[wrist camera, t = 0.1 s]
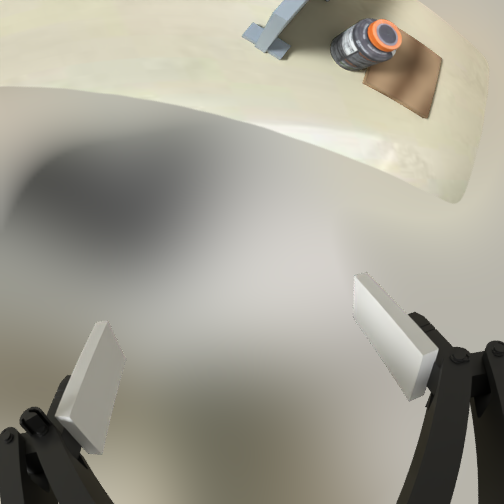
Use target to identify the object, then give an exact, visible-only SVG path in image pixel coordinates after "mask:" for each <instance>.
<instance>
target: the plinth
mask: <svg viewBox="0 0 504 504" xmlns="http://www.w3.org/2000/svg"><path fill="white" fill-rule="evenodd" d="M397 28H398V27H397ZM398 29H399V28H398ZM399 31H400V33H401V36H402V43H401V45H400V47H399V48H397V49H396V52H395V54H394V56H393V57H392V58H391V59H389V60H387V61H384V62H381V63H378V64H375V65H372V66H369V67H367V70H366V73H365V77H364V80H363V84H365V85H367V86H369V87H371V88H373V89H375V90H376V91H378V92H380V93H382V94H384V95H386V96H387V97H389V98H391V99H393V100H394V101H396V102H398V103H399V104H401V105H403V106H404V107H406V108H408V109H409V110H411V111H413V112H414V113H416V114H417V115H419V116H421V117H422V118H428V114H429V111H430V107H431V103H432V99H433V95H434V91H435V87H436V83H437V79H438V74H439V69H440V65H441V60H442V58H441V57H440V56H438V55H437V54H436V53H434V52H433V51H432V50H430V49H429V48H427V47H426V46H425V45H423V44H422V43H420V42H419V41H417V40H416V39H414V38H413V37H412V36H410V35H408V34H407V33H405V32H404V31H402V30H401V29H399Z"/></svg>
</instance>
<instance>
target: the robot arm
mask: <svg viewBox="0 0 504 504" xmlns="http://www.w3.org/2000/svg"><path fill="white" fill-rule="evenodd" d="M353 318H354V320H355V321H356V323H357V324H358V325H359V327H360V328H361V330H362V331H363V333H364V334H365V336H366V337H367V339H368V340H369V341H370V343H371V344H372V346H373V347H374V348H375V350H376V352H377V353H378V355H379V356H380V358H381V359H382V361H383V362H384V364H385V365H386V367H387V368H388V370H389V371H390V373H391V374H392V376H393V377H394V379H395V380H396V382H397V384H398V385H399V387H400V388H401V390H402V391H403V393H404V394H405V396H406V397H407V399H408V401H411V400H414V399H416V398H418V397H421V396H423V395H424V393H425V390H426V387H428V388H429V390H430V391H431V394H430V396H429V399H428V401H427V404H426V406H425V407H427V410H426V414H425V418H424V422H423V426H422V430H421V433H420V437H419V440H418V444H417V447H416V450H415V454H414V457H413V460H412V463H411V466H410V469H409V472H408V474H407V477H406V480H405V483H404V486H403V488H402V491H401V493H400V496H399V498H398V500H397V503H396V504H450V502H451V499H452V495H453V492H454V488H455V484H456V480H457V476H458V472H459V468H460V463H461V458H462V453H463V448H464V442H465V436H466V430H467V422H468V415H469V406H471V412H472V418H473V425H474V433H475V443H476V453H477V467H478V496H479V497H478V501H479V502H478V504H504V343H503V342H501V341H491V342H489V343H488V344H487V346H486V348H485V351H482V352H476V353H469V351H467V350H466V349H464V348H460V347H452V346H451V344H450V343H449V342H448V341H447V340H446V339H445V338H444V337H443V336H442V335H441V334H440V333H439V332H438V331H437V330H435V327H434V326H433V325H432V324H430V322H429V321H428V320H427V319H426V318H425V317H424V316H422V315H420V314H418V313H416V312H413V313H410V314H407V313H406V312H405V311H404V310H403V309H402V308H401V307H400V306H399V305H398V304H397V303H396V302H395V301H394V299H393V298H392V297H390V295H388V293H387V292H386V291H385V290H384V289H383V288H382V287H381V286H380V285H379V284H378V283H377V282H376V281H375V280H374V279H373V278H372V277H371V276H370V275H369V274H368V273H367V272H366V273H361V274H357V275H354V307H353ZM125 362H126V357H125V355H124V353H123V351H122V349H121V347H120V345H119V343H118V341H117V339H116V337H115V334H114V332H113V330H112V328H111V326H110V323H109V321H101V322H96V324H95V326H94V328H93V330H92V332H91V334H90V336H89V338H88V340H87V342H86V344H85V346H84V349H83V351H82V353H81V355H80V357H79V359H78V361H77V364H76V366H75V368H74V370H73V373H72V375H67V376H66V377H65V378H64V379H63V380H62V382H61V383H60V385H59V387H58V390H57V392H56V394H55V398H54V399H53V401H52V404H51V406H50V409H49V411H48V414H47V416H46V415H45V414H44V412H43V411H42V410H41V409H40V408H38V407H31V408H28V409H27V410H26V411H24V413H23V414H22V415H21V417H20V425H21V426H22V427H23V428H24V429H25V431H26V433H22V434H20V433H19V432H18V431H17V430H16V429H15V428H13V427H8V428H6V429H4V430H3V431H2V433H1V434H0V498H1V504H58V502H59V504H114V503H113V502H112V500H111V499H110V498H109V496H108V495H107V493H106V492H105V490H104V489H103V487H102V486H101V484H100V483H99V481H98V480H97V478H96V477H95V475H94V474H93V472H92V470H91V469H90V467H89V465H88V464H87V462H86V460H85V459H84V457H83V456H82V455H81V454H80V451H81V447H82V448H83V449H84V450H85V451H86V452H87V453H88V454H100V455H102V454H103V449H104V444H105V440H106V436H107V431H108V426H109V423H110V418H111V414H112V410H113V406H114V402H115V398H116V395H117V391H118V387H119V383H120V379H121V376H122V372H123V369H124V365H125Z"/></svg>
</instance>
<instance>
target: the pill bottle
mask: <svg viewBox="0 0 504 504" xmlns="http://www.w3.org/2000/svg"><path fill="white" fill-rule="evenodd" d="M401 43H402V36H401V33H400V31H399V29H398V28H397V27H396V25H394V24H393V23H392V22H390V21H388V20H385V19H380V20H376V19H370V18H368V19H363V20H361V21H359V22H358V23H356V24H355V25H353V26H352V27H350V28H349V29H347V30H346V31H344V32H343V33H341V34H340V35H338V36H337V37H335V38H334V39H333V41H332V43H331V47H330V51H331V55H332V57H333V59H334V61H335V62H336V63H337V64H338V65H339V66H340V67H342V68H344V69H346V70H349V71H358V70H361V69H364V68H366V67H369V66H372V65H375V64H378V63H381V62H384V61H387V60H389V59H391V58H392V57H393V56H394V54H395V52H396V49H397V48H399V47H400V45H401Z"/></svg>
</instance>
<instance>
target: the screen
mask: <svg viewBox="0 0 504 504" xmlns="http://www.w3.org/2000/svg"><path fill="white" fill-rule="evenodd" d="M308 1H309V0H284V1H283V2H282V3H281V4H280V5H279V6H278V7H277V8H276V10H275V11H274V12H273V13H272V15H271V17H270V19H269V21H268V22H267V24H266V26H265V28H264V29H263V28H262V27H260V26H258V25H257V24H255V23H252V24H251V25H250V26H249V28H248V29H247V30H246V31H245V32H244V34H243V35H242V37H243V38H245V39H247V40H248V41H250V42H252V43H253V44H255V47H256V48H258V49H259V50H261V51H262V52H264V53H265V52H268V53H269V54H271V55H272V56H274V57H276V58H277V59H279V60H280V59H281V58H282V57H283V55H284V54H285V53H286V52H287V50H288V49H289V48H290V47H291V46H290V45H289V44H287V43H286V42H284V41H283V40H281V39H279V38H278V36H279V34H280V33H281V32H282V31H283V30H284V28H285V27H286V26H287V25H288V24H289V22H290V21H291V20H292V19H293V18H294V17H295V15H296V14H297V13H298V12H299V11H300V10H301V9H302V7H303V6H304V5H305V4H306V3H307V2H308ZM326 1H327V2H328V1H329V0H326Z"/></svg>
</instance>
